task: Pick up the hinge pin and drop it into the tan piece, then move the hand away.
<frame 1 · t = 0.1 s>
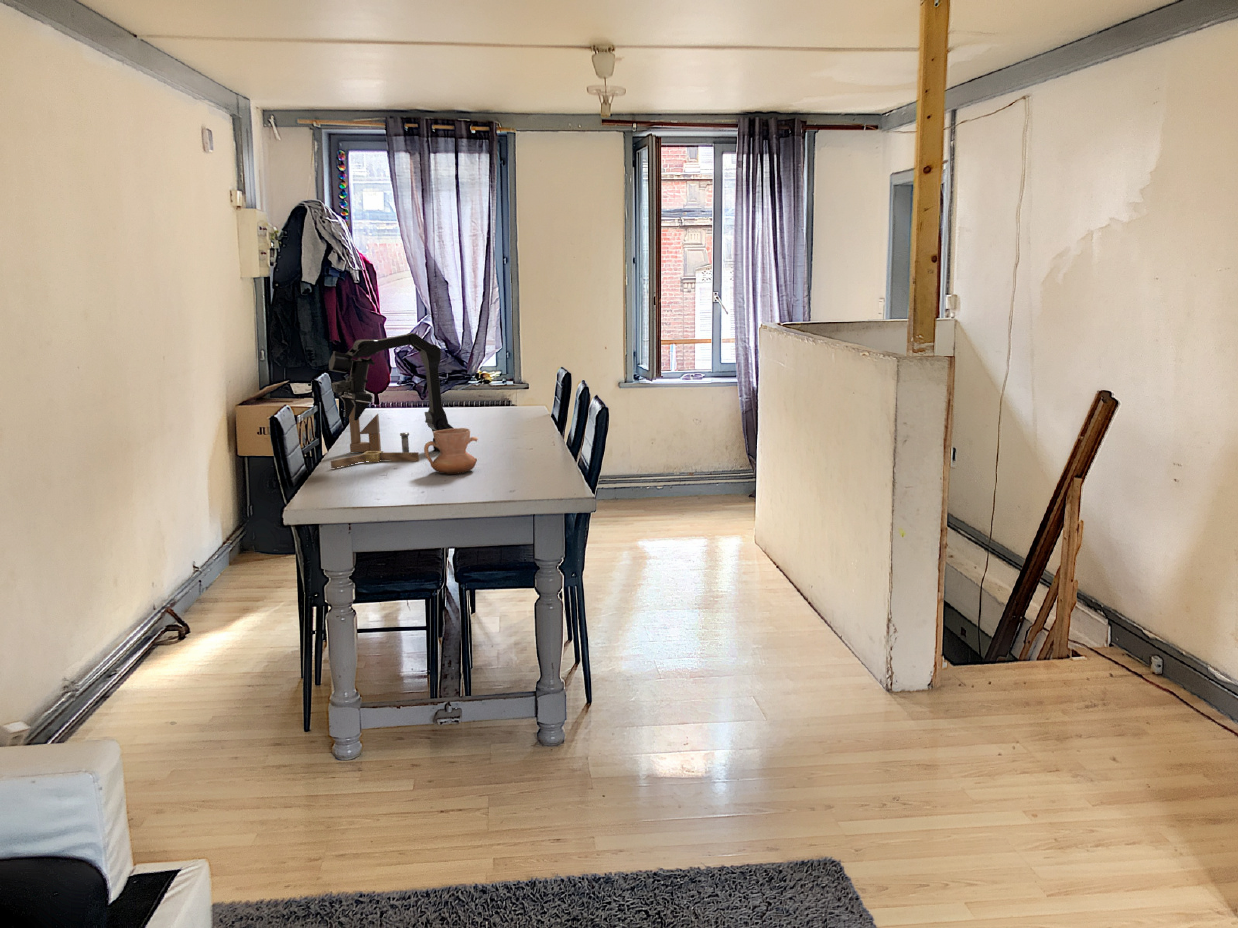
hand: (351, 418, 361), 15 cm above the table, tool pointing down, fingers open, 9 cm apart
wooden block: (365, 452, 382), on the table
ceramic jug: (452, 472, 342), on the table
tan piece: (372, 460, 365), on the table
hinge pin: (406, 457, 370), on the table
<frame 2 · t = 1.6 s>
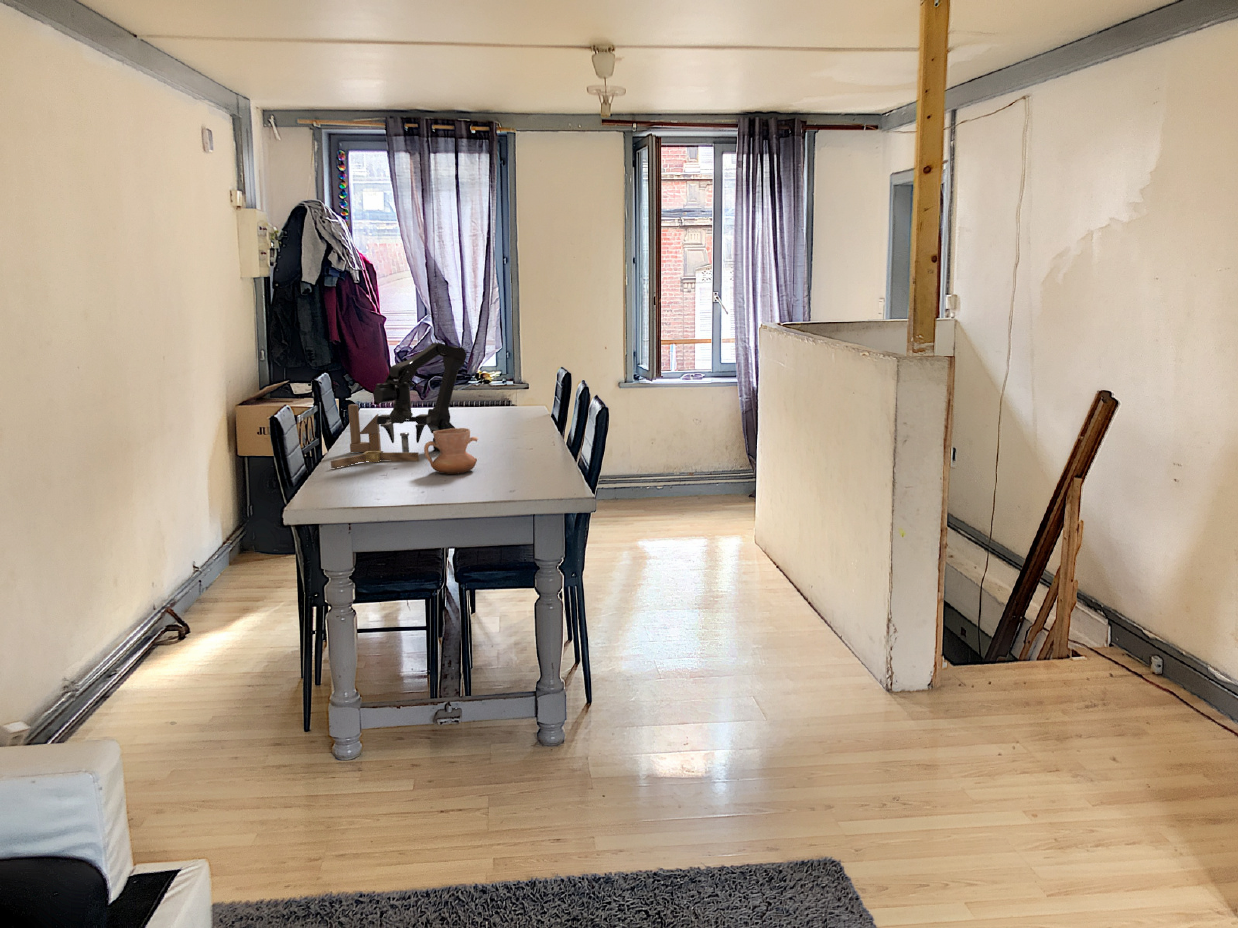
hand: (405, 442, 369), 5 cm above the table, tool pointing down, fingers open, 9 cm apart
nothing on the table moved.
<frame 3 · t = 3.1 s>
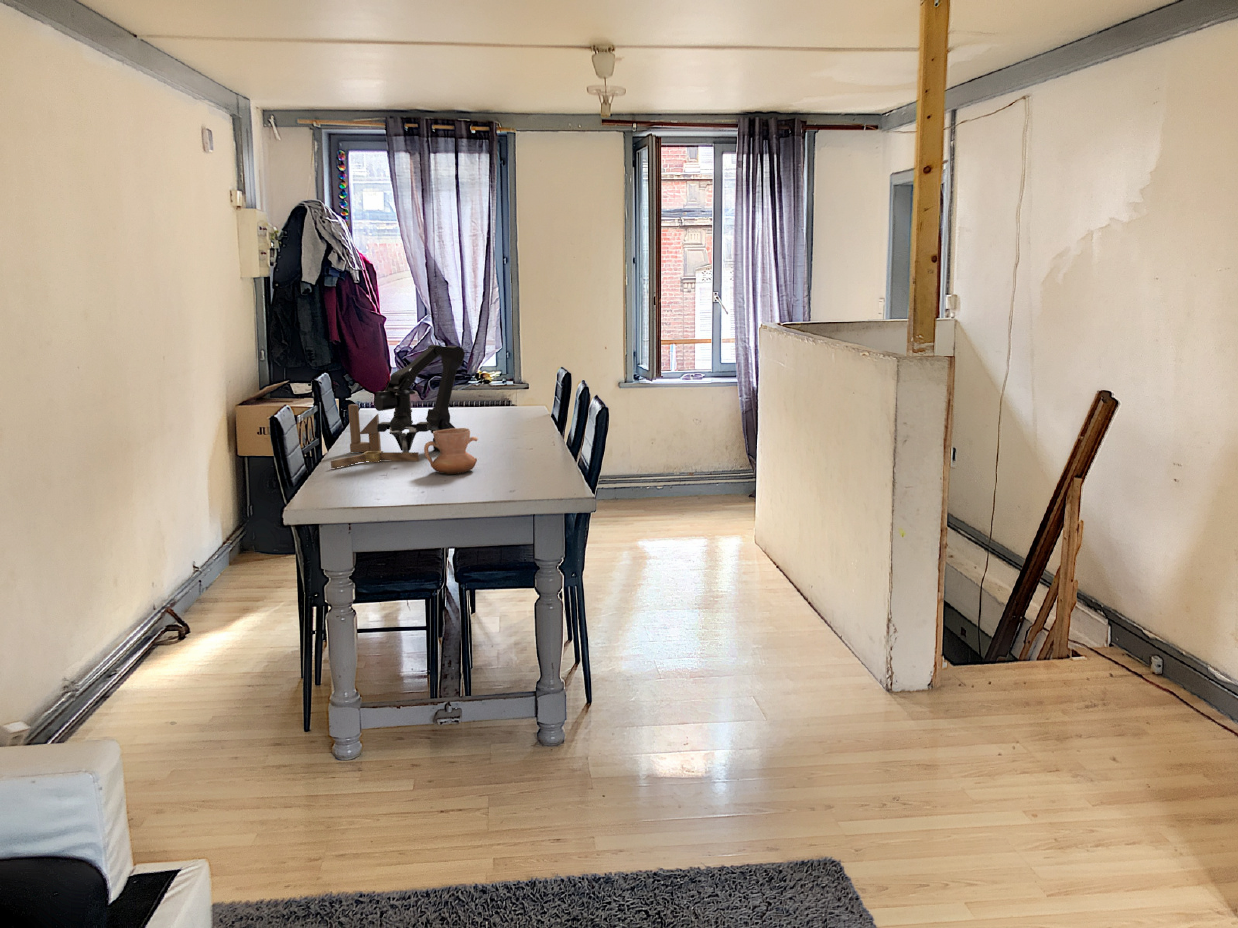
hand: (405, 450, 370), 3 cm above the table, tool pointing down, fingers closed on hinge pin, 2 cm apart
hinge pin: (406, 457, 370), on the table, touching gripper
everything else where it was.
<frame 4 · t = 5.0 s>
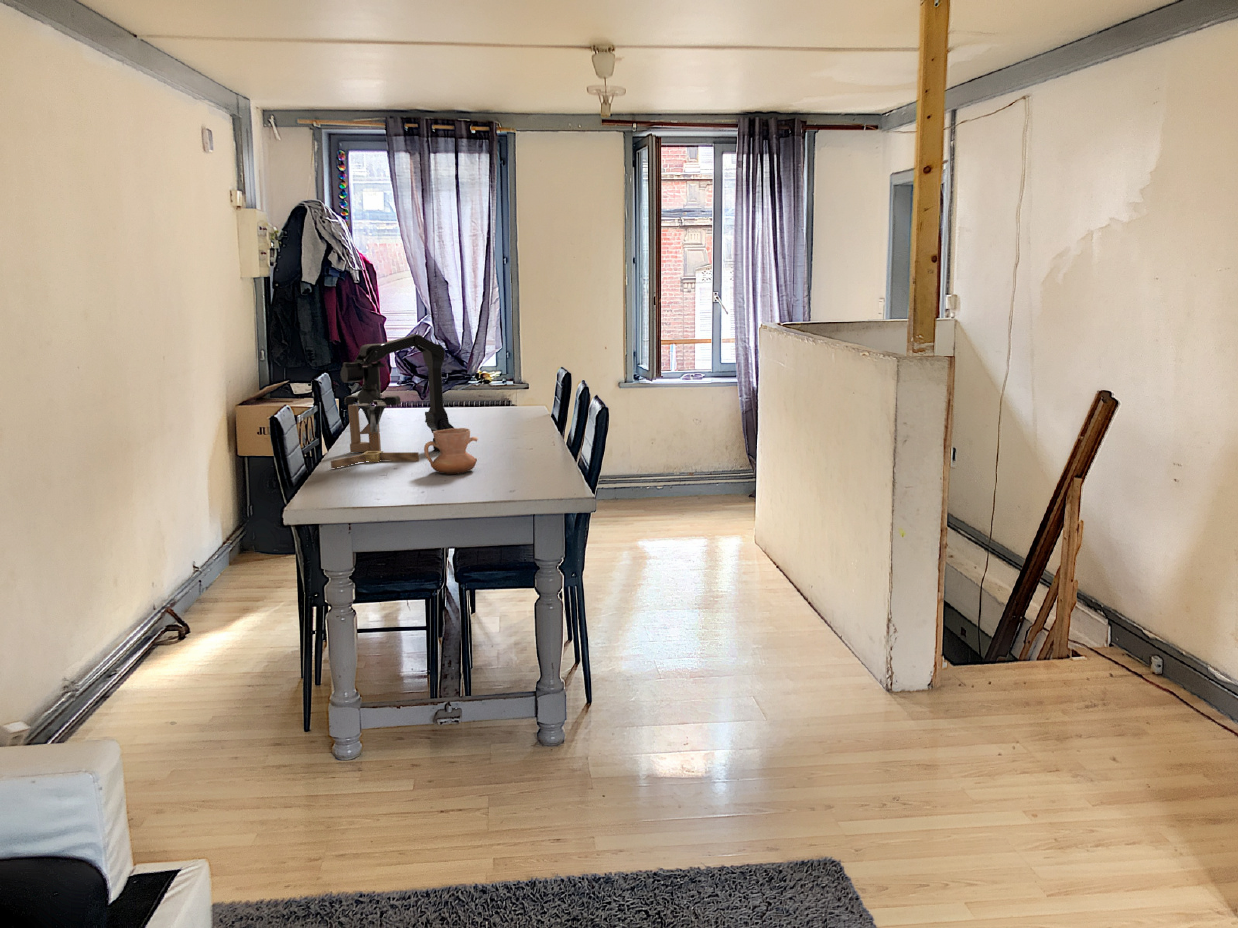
hand: (373, 424, 363), 13 cm above the table, tool pointing down, fingers closed on hinge pin, 2 cm apart
hinge pin: (374, 431, 363), point 11 cm above the table, touching gripper
everything else where it was.
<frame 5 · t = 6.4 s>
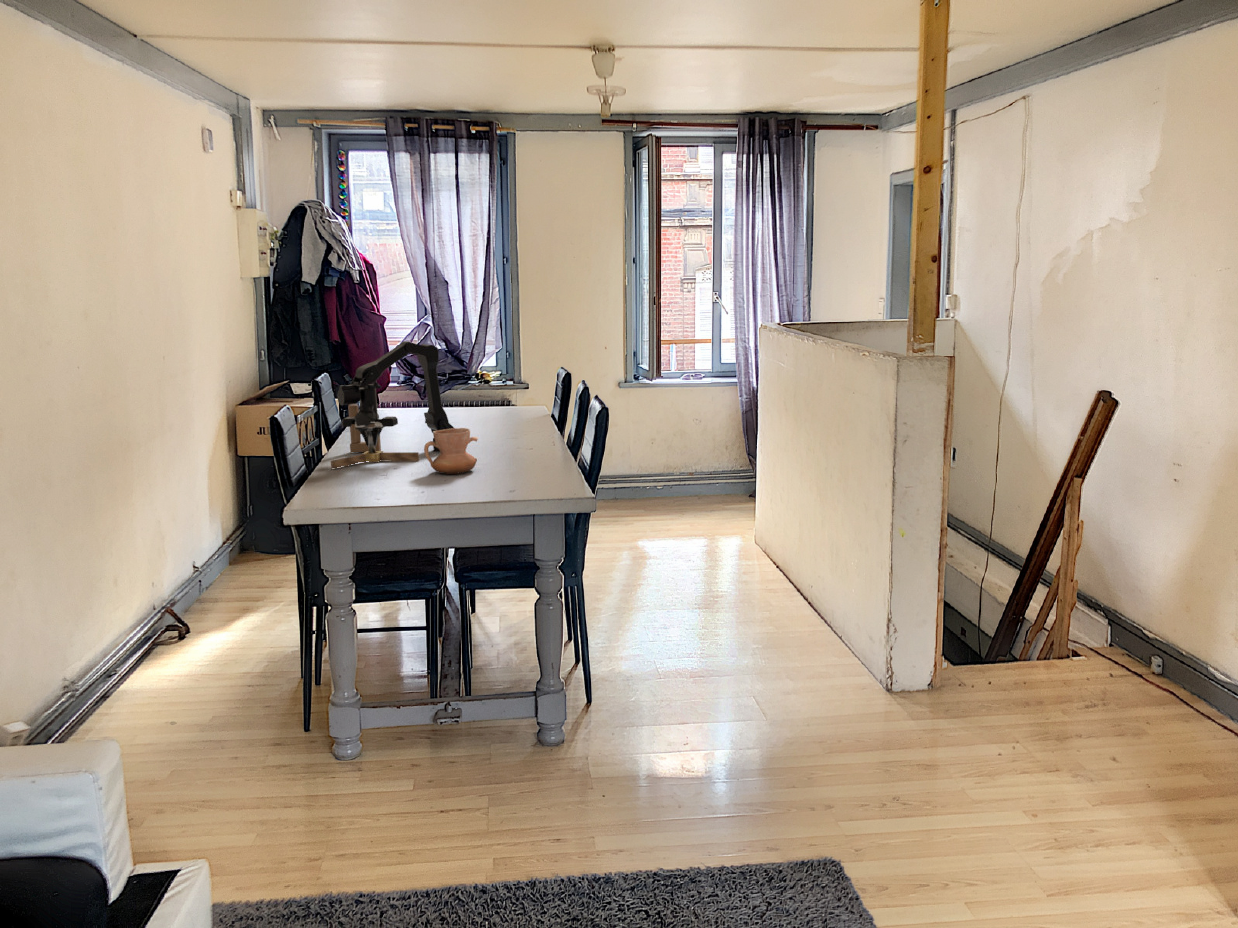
hand: (371, 445, 364), 6 cm above the table, tool pointing down, fingers closed on hinge pin, 2 cm apart
hinge pin: (372, 452, 364), point 3 cm above the table, touching gripper
everything else where it was.
when the fingers open (4 cm above the table, at t = 7.2 s): hinge pin drops 2 cm, resting in tan piece.
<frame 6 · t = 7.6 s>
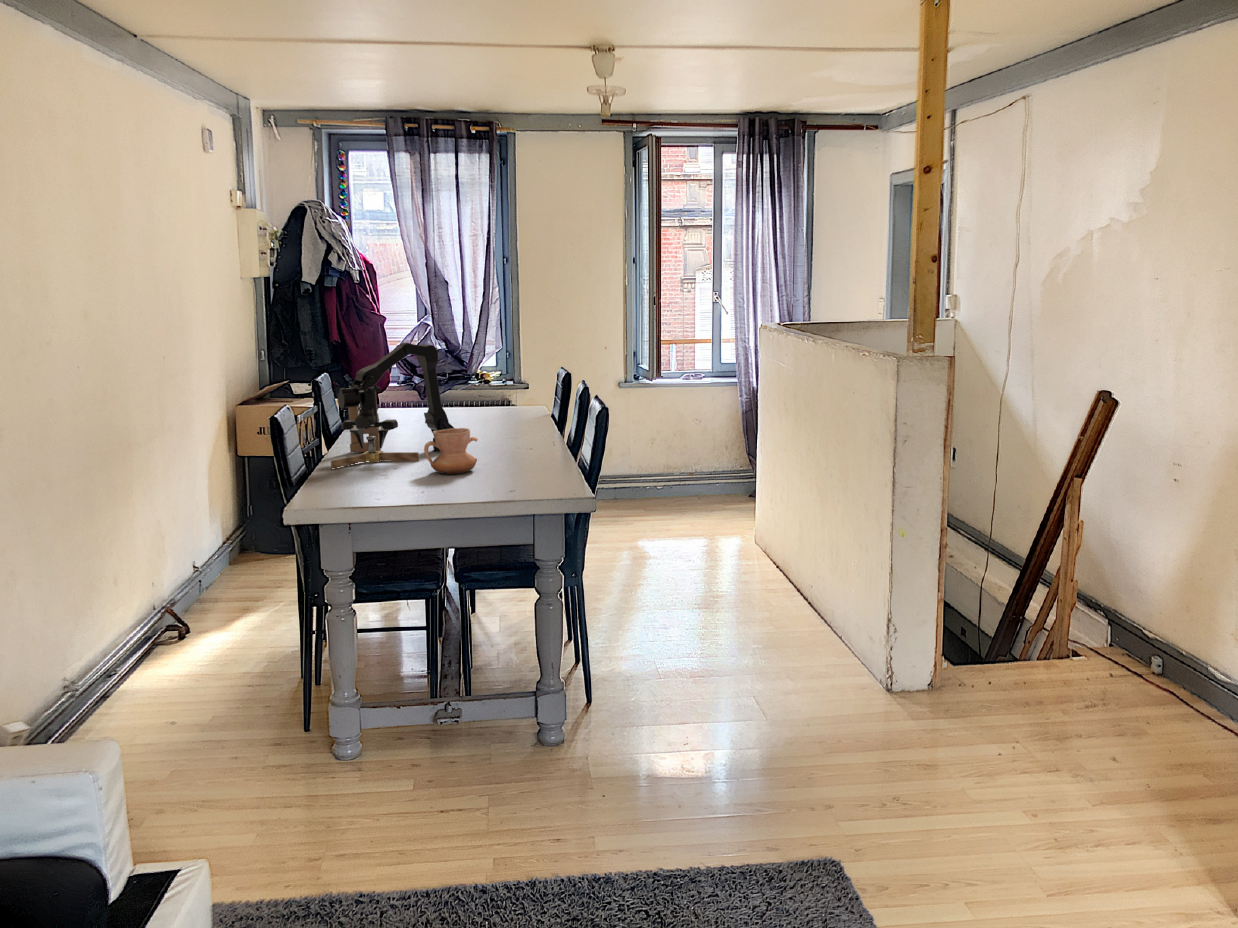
hand: (371, 448, 364), 4 cm above the table, tool pointing down, fingers open, 6 cm apart
hinge pin: (372, 460, 365), resting in tan piece
everything else where it was.
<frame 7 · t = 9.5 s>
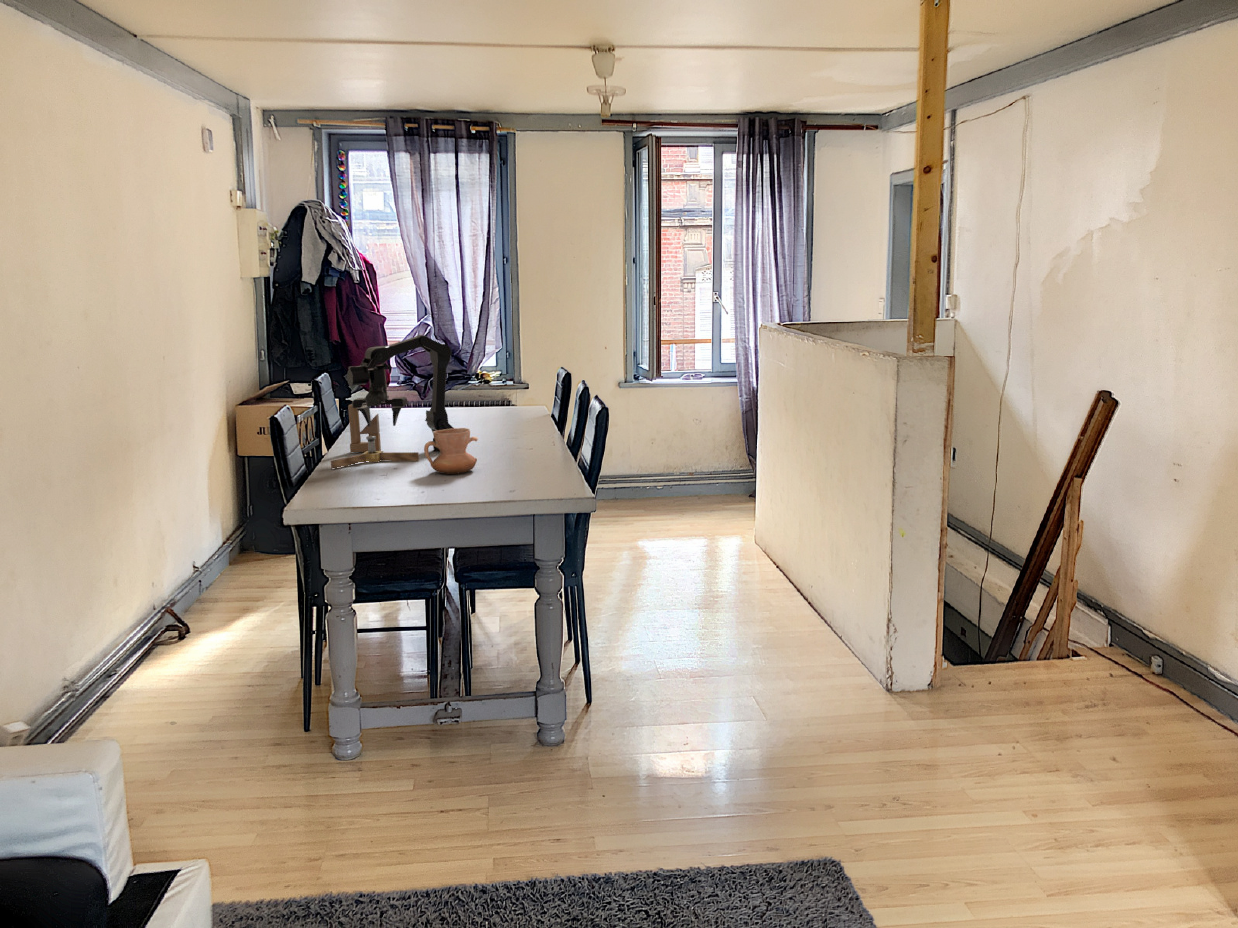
hand: (382, 426, 367), 12 cm above the table, tool pointing down, fingers open, 9 cm apart
nothing on the table moved.
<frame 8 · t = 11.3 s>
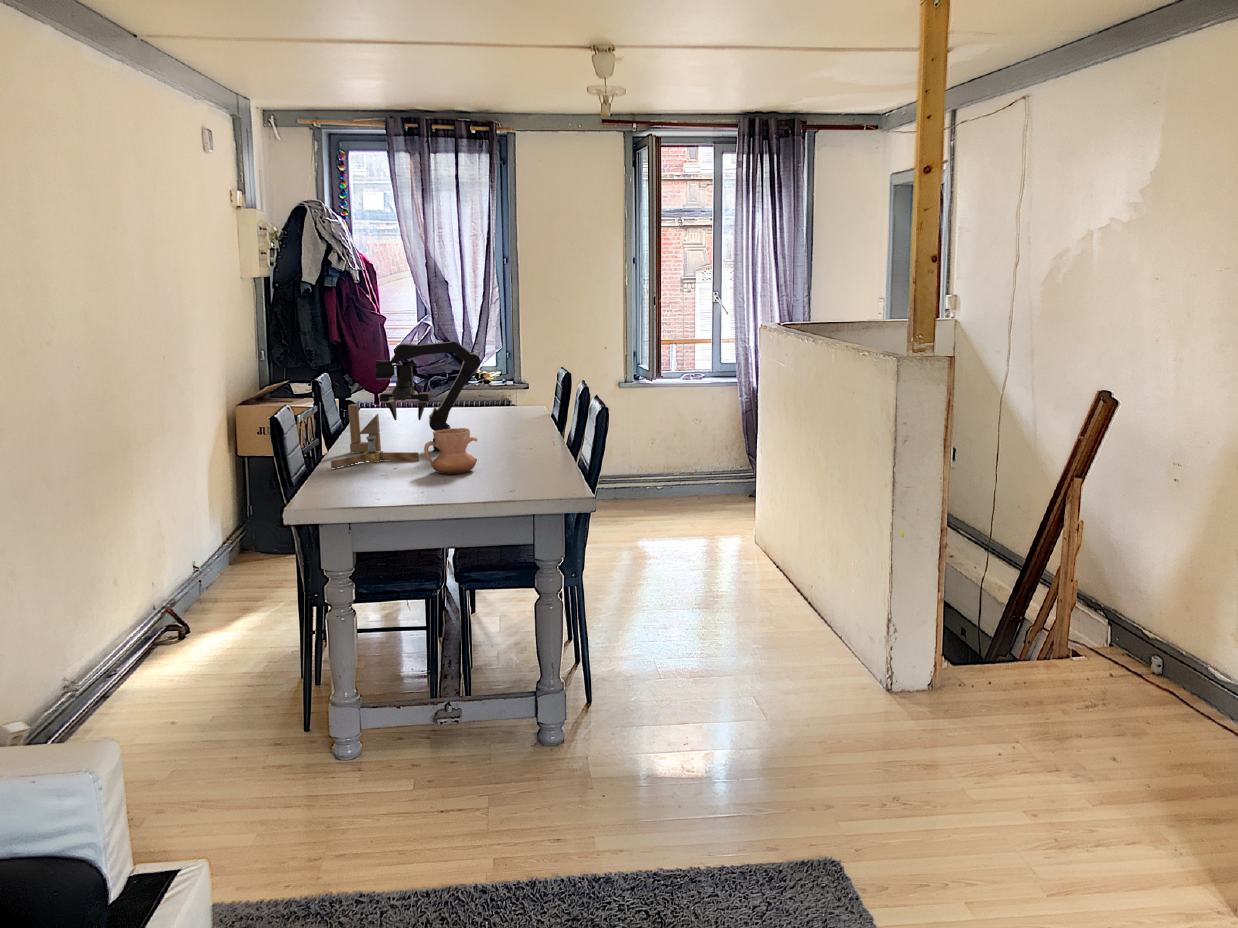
hand: (407, 420, 378), 12 cm above the table, tool pointing down, fingers open, 9 cm apart
nothing on the table moved.
at the end: hinge pin 0.0 cm off-centre on the tan piece, point 0.0 cm above the tan piece's base; hinge pin tilted 0°; the gripper is holding nothing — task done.
